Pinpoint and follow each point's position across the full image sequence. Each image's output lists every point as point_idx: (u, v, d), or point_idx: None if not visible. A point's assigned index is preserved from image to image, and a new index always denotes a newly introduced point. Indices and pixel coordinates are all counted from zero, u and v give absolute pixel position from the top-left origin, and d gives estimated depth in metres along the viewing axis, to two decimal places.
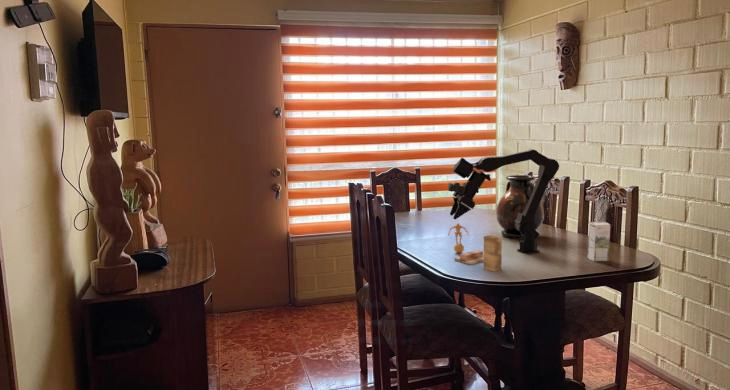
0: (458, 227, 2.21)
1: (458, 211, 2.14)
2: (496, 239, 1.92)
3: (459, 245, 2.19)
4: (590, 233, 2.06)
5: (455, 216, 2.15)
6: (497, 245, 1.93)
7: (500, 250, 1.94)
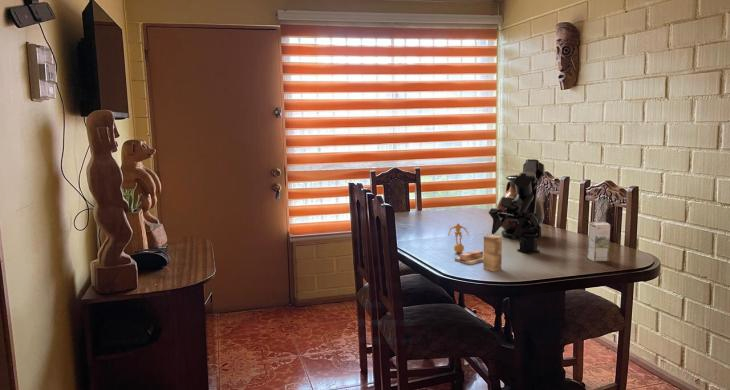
0: (458, 227, 2.21)
1: (519, 230, 1.94)
2: (496, 239, 1.92)
3: (459, 245, 2.19)
4: (590, 233, 2.06)
5: (515, 234, 1.94)
6: (497, 245, 1.93)
7: (500, 250, 1.94)
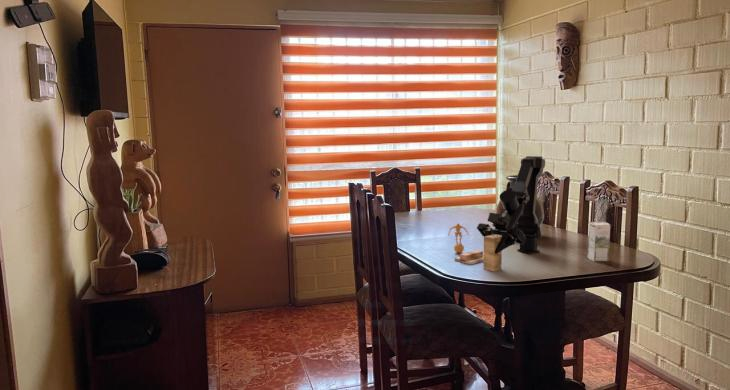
0: (458, 227, 2.21)
1: (501, 245, 1.92)
2: (496, 239, 1.92)
3: (459, 245, 2.19)
4: (590, 233, 2.06)
5: (497, 250, 1.92)
6: (497, 245, 1.93)
7: None
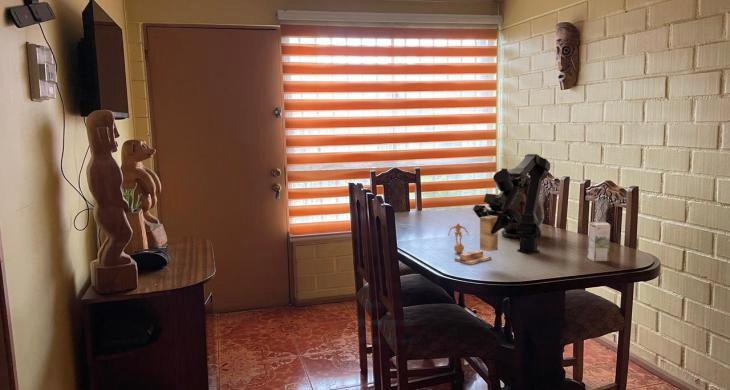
0: (458, 227, 2.21)
1: (497, 225, 1.94)
2: (492, 219, 1.94)
3: (459, 245, 2.19)
4: (590, 233, 2.06)
5: (494, 230, 1.94)
6: (493, 226, 1.95)
7: None
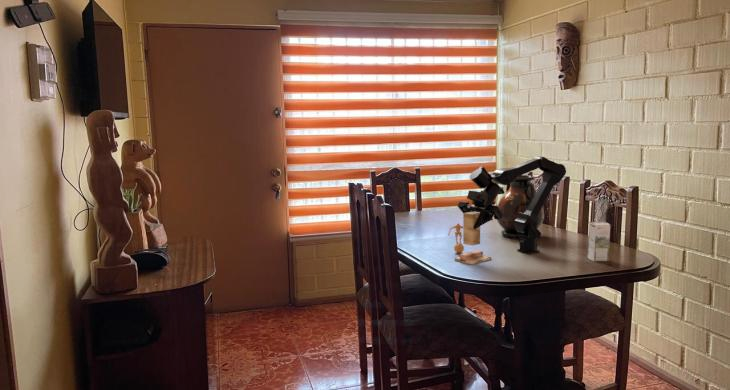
0: (458, 227, 2.21)
1: (480, 221, 2.04)
2: (475, 215, 2.04)
3: (459, 245, 2.19)
4: (590, 233, 2.06)
5: (476, 225, 2.04)
6: None
7: None
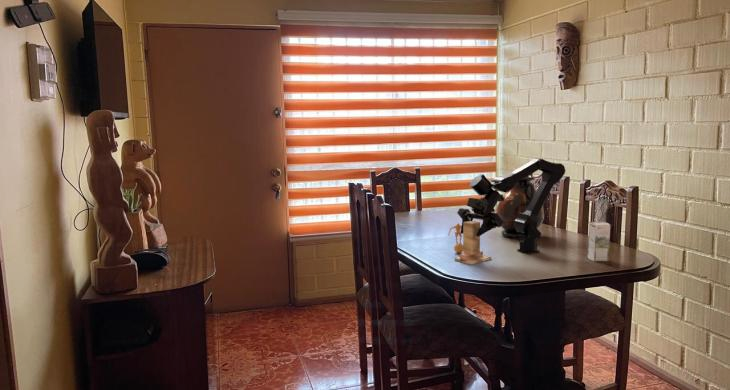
0: (458, 227, 2.21)
1: (483, 228, 2.03)
2: (474, 224, 2.05)
3: (459, 245, 2.19)
4: (590, 233, 2.06)
5: (479, 233, 2.03)
6: (476, 230, 2.05)
7: None
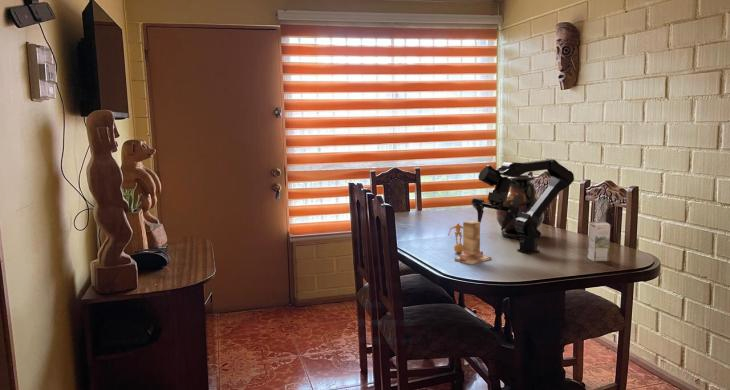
0: (458, 227, 2.21)
1: (506, 222, 2.07)
2: (474, 224, 2.05)
3: (459, 245, 2.19)
4: (590, 233, 2.06)
5: (503, 227, 2.07)
6: (476, 230, 2.05)
7: (478, 235, 2.07)
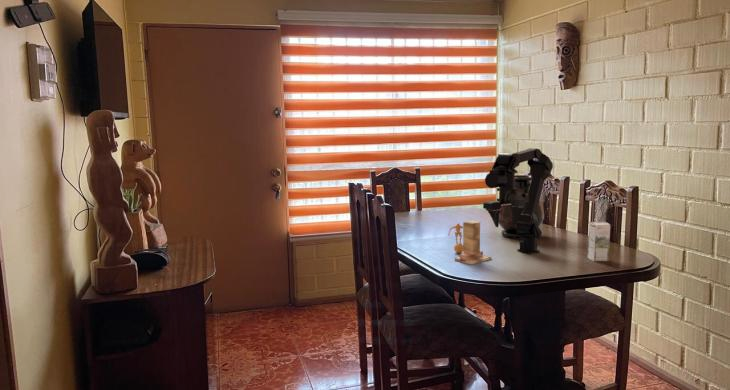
0: (458, 227, 2.21)
1: None
2: (474, 224, 2.05)
3: (459, 245, 2.19)
4: (590, 233, 2.06)
5: None
6: (476, 230, 2.05)
7: (478, 235, 2.07)
